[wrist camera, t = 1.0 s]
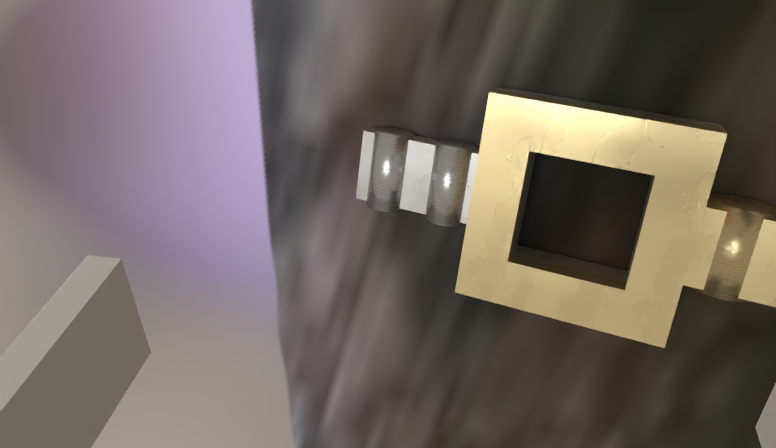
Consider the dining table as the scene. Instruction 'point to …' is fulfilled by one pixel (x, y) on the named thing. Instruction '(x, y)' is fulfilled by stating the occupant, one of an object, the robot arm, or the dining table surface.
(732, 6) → the dining table surface
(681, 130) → the square loop key
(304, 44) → the dining table surface
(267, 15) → the dining table surface
